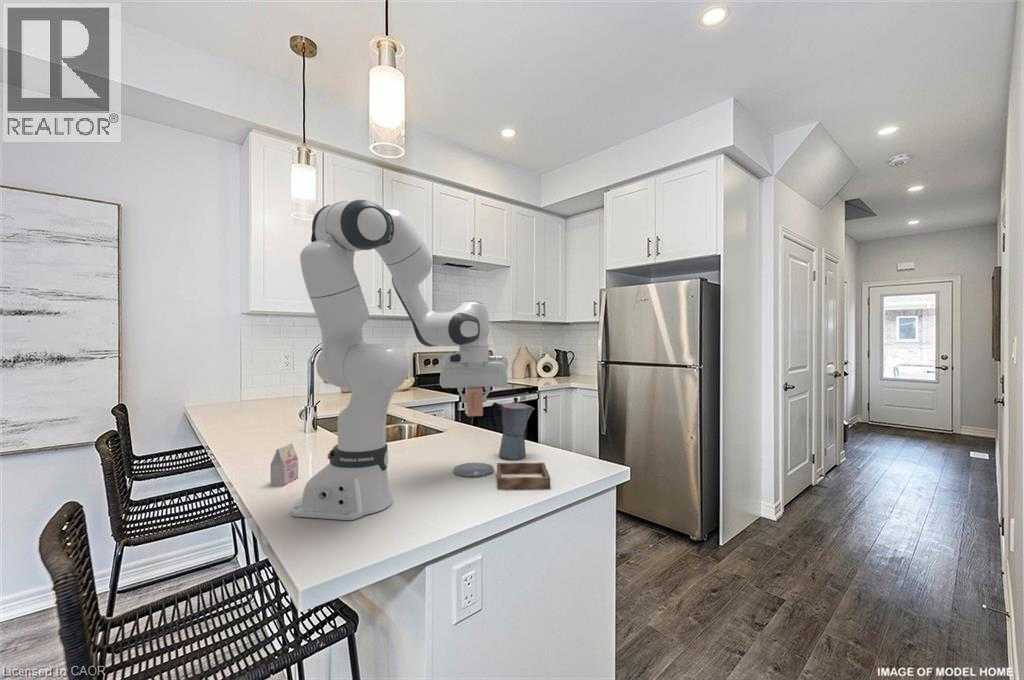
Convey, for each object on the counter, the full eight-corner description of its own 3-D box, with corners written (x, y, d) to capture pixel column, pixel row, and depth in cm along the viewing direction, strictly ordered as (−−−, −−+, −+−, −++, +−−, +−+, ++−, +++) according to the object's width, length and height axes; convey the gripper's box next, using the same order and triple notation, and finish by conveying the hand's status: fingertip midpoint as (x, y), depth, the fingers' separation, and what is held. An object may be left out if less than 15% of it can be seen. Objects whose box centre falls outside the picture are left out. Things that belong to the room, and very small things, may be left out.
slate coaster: (451, 477, 128) (451, 475, 128) (455, 465, 140) (455, 462, 140) (493, 477, 129) (493, 474, 129) (493, 465, 141) (493, 462, 141)
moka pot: (534, 461, 145) (534, 399, 145) (487, 460, 145) (487, 399, 145) (533, 453, 155) (534, 395, 154) (489, 452, 155) (489, 395, 155)
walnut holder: (497, 489, 119) (497, 478, 119) (497, 473, 133) (497, 463, 133) (550, 489, 119) (550, 477, 119) (544, 472, 133) (544, 462, 133)
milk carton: (270, 486, 121) (270, 449, 121) (286, 478, 128) (285, 443, 127) (283, 486, 120) (283, 450, 120) (298, 478, 127) (298, 443, 127)
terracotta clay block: (465, 412, 137) (465, 386, 136) (479, 412, 138) (479, 386, 137) (468, 417, 129) (468, 389, 129) (483, 416, 130) (483, 389, 130)
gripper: (505, 355, 139) (505, 399, 139) (439, 355, 135) (439, 401, 135) (510, 356, 133) (509, 402, 133) (440, 357, 128) (440, 405, 129)
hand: (473, 402), depth 134 cm, fingers closed on terracotta clay block, 4 cm apart
